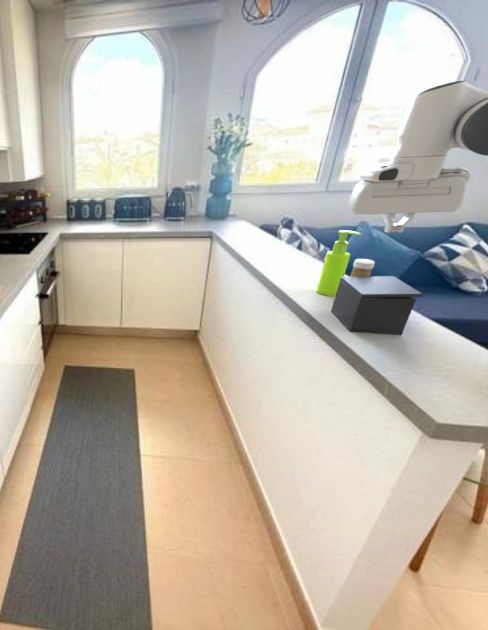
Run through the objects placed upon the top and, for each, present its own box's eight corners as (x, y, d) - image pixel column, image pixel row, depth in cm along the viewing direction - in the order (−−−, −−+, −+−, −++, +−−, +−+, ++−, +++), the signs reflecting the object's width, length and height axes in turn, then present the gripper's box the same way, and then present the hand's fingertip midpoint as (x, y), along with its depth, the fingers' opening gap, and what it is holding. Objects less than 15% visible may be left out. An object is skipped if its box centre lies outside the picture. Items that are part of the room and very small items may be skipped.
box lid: (392, 278, 92) (393, 275, 92) (421, 296, 82) (422, 293, 81) (340, 279, 96) (340, 276, 96) (361, 297, 85) (362, 294, 85)
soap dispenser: (339, 298, 107) (359, 234, 99) (314, 292, 112) (330, 231, 104) (344, 292, 111) (363, 230, 102) (319, 287, 116) (335, 228, 107)
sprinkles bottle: (340, 304, 104) (354, 261, 98) (342, 299, 107) (355, 257, 101) (360, 307, 101) (374, 263, 95) (361, 302, 104) (375, 259, 98)
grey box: (376, 313, 97) (388, 281, 93) (401, 334, 86) (416, 299, 82) (330, 311, 100) (340, 279, 96) (349, 331, 89) (361, 297, 85)
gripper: (462, 165, 76) (438, 228, 82) (353, 172, 82) (338, 230, 88) (484, 167, 71) (457, 234, 77) (365, 174, 76) (349, 235, 82)
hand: (392, 232), depth 82 cm, fingers closed
